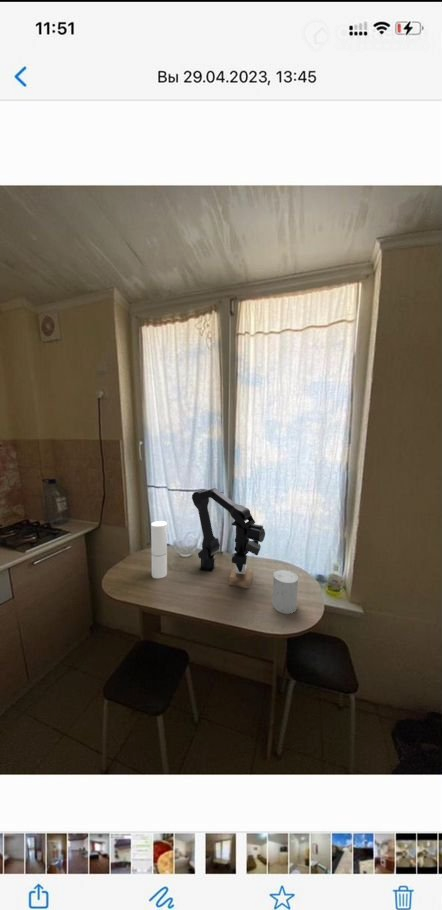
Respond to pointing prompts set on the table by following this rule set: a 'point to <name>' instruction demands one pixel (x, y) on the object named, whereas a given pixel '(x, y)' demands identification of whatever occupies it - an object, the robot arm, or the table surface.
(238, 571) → the grey cube
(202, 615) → the table surface
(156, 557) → the cylindrical container
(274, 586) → the white cylinder
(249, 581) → the tan block
